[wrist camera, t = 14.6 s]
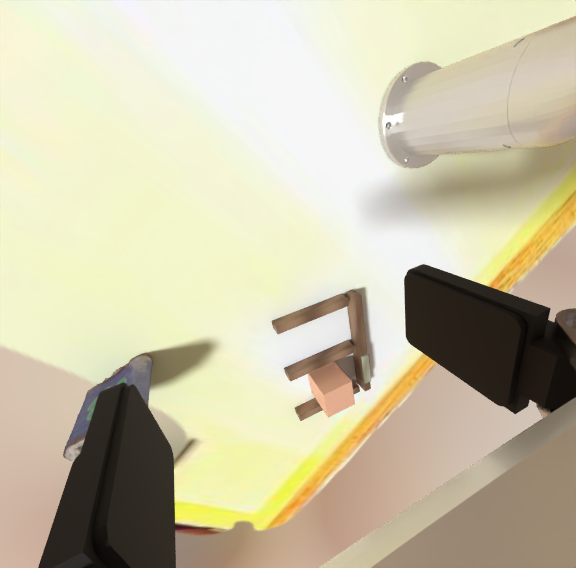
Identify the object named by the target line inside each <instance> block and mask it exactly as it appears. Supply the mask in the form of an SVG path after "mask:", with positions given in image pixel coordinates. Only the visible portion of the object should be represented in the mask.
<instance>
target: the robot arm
mask: <svg viewBox="0 0 576 568" xmlns="http://www.w3.org/2000/svg"><path fill="white" fill-rule="evenodd" d="M379 131H380V137H381V141H382V144H383V147H384V149H385V151H386V153H387V155H388V156H389V157H390V159H391V160H392V161H393V162H395V163H396V164H397V165H399V166H402V167H404V168H419V167H423V166H425V165H427V164H429V163H431V162H432V161H433V160H434V159H436V158H437V157H438V156H439V155H440V154H454V153H468V152H481V151H495V150H509V149H522V148H536V147H547V146H553V145H557V144H561V143H564V142H567V141H569V140H572V139H574V138H576V16H574V17H572V18H569V19H567V20H564V21H561V22H559V23H556V24H554V25H551V26H549V27H547V28H544V29H542V30H539V31H536V32H534V33H531V34H529V35H526V36H523V37H521V38H518V39H516V40H513V41H511V42H508V43H505V44H503V45H500V46H498V47H495V48H493V49H490V50H487V51H485V52H482V53H480V54H477V55H474V56H472V57H469V58H467V59H464V60H462V61H459V62H456V63H454V64H451V65H449V66H446V67H444V68H441V67H440V66H438V65H437V64H435V63H431V62H419V63H416V64H413V65H411V66H409V67H407V68H405V69H404V70H402V71H401V72H400V73H399V74H398V75H397V76H396V77H395V78H394V79H393V80H392V82H391V84H390V85H389V87H388V89H387V91H386V93H385V96H384V98H383V101H382V105H381V109H380V117H379ZM404 286H405V324H406V338H407V340H408V342H409V343H410V344H411V345H412V346H414V347H415V348H417V349H418V350H420V351H421V352H422V353H424V354H425V355H427V356H428V357H430V358H431V359H432V360H434V361H435V362H437V363H438V364H440V365H441V366H443V367H444V368H445V369H447V370H448V371H450V372H451V373H453V374H454V375H455V376H457V377H458V378H460V379H461V380H463V381H464V382H465V383H467V384H468V385H470V386H471V387H473V388H474V389H475V390H477V391H478V392H480V393H481V394H482V395H484V396H485V397H487V398H488V399H490V400H491V401H492V402H494V403H495V404H497V405H499V406H504V407H506V408H507V409H509V410H510V411H511V412H513V413H514V414H516V413H518V412H519V411H521V410H523V409H524V408H526V407H527V406H528V404H529V400H532V401H533V402H535V403H536V405H537V408H538V410H539V412H540V413H541V415H542V417H543V419H542V420H540V421H538V422H537V423H535V424H534V425H532V426H531V427H529V428H528V429H526V430H525V431H523V432H522V433H520V434H518V435H517V436H515V437H514V438H512V439H511V440H509V441H508V442H506V443H505V444H503V445H502V446H500V447H499V448H497V449H496V450H494V451H493V452H491V453H490V454H488V455H487V456H485V457H484V458H482V459H481V460H479V461H478V462H476V463H475V464H473V465H472V466H470V467H469V468H467V469H465V470H464V471H463V472H461V473H459V474H458V475H456V476H455V477H453V478H452V479H450V480H449V481H447V482H446V483H444V484H443V485H441V486H440V487H438V488H437V489H436V490H434V491H432V492H431V493H429V494H428V495H426V496H425V497H423V498H422V499H420V500H419V501H418V502H416V503H414V504H413V505H411V506H410V507H408V508H407V509H405V510H404V511H402V512H401V513H399V514H398V515H396V516H395V517H393V518H392V519H390V520H389V521H387V522H386V523H384V524H383V525H381V526H380V527H378V528H377V529H376V530H374V531H372V532H371V533H370V534H368V535H366V536H365V537H363V538H362V539H360V540H359V541H357V542H356V543H355V544H353V545H351V546H350V547H348V548H347V549H345V550H344V551H343V552H341V553H340V554H338V555H337V556H335V557H334V558H332V559H331V560H329V561H328V562H326V563H325V564H323V565H322V566H320V567H319V568H576V308H573V309H566V310H562V311H560V312H559V313H557V314H556V318H555V322H552V321H549V320H548V317H549V313H550V308H548V307H545V306H542V305H539V304H536V303H533V302H531V301H528V300H525V299H522V298H519V297H517V296H514V295H511V294H508V293H505V292H502V291H499V290H497V289H494V288H491V287H488V286H485V285H482V284H479V283H477V282H474V281H471V280H468V279H465V278H462V277H459V276H457V275H454V274H451V273H448V272H445V271H442V270H440V269H437V268H434V267H431V266H428V265H424V264H423V265H420V266H417V267H415V268H412V269H410V270H409V271H408V272H407V275H406V276H405V279H404ZM38 568H176V555H175V504H174V458H173V452H172V449H171V446H170V444H169V443H168V441H167V439H166V438H165V436H164V434H163V432H162V430H161V429H160V427H159V425H158V424H157V422H156V420H155V419H154V417H153V415H152V413H151V411H150V410H149V408H148V406H147V405H146V403H145V401H144V399H143V398H142V396H141V394H140V393H139V391H138V389H137V388H136V386H135V385H134V384H132V385H129V386H128V385H127V384H126V383H120V384H118V385H115V386H113V387H110V388H107V389H105V390H102V391H101V392H100V393H99V395H98V398H97V402H96V405H95V408H94V411H93V414H92V417H91V421H90V424H89V427H88V430H87V433H86V436H85V440H84V443H83V446H82V449H81V452H80V454H79V455H78V456H77V457H76V458H75V460H74V462H73V464H72V467H71V470H70V473H69V476H68V479H67V482H66V485H65V488H64V491H63V494H62V497H61V500H60V503H59V506H58V509H57V513H56V516H55V519H54V522H53V525H52V528H51V531H50V534H49V537H48V540H47V543H46V546H45V549H44V552H43V555H42V558H41V561H40V564H39V567H38Z"/></svg>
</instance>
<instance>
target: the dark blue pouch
mask: <svg viewBox="0 0 576 568" xmlns="http://www.w3.org/2000/svg"><path fill="white" fill-rule="evenodd" d="M151 369H152V359H151V357H149V356H148V355H146V354H142V355H139V356H136V357H135V358H133V359H131V360H130V362H129V363H128V364H126V365H125V366H123V367H121V368H119V369H118V370H116V371H115V372H114V373H113V375H112V376H111V377H110V378H108V379H106V378H105V380H104V381H103V382H102V383H101V384H97V385H96V386H95V387H93V388H92V389H90V390H88V392H87V394H86V398H85V401H84V403H83V406H82V408H81V410H80V413H79V415H78V417H77V420H76V423H75V426H74V428H73V431H72V433H71V435H70V438H69V440H68V442H67V445H66V447H65V450H64V454H63V456H64V458H66V459H69V460H70V461H74V460H75V458H76V457H77V456H78V455H79V454H80V452H81V449H82V446H83V443H84V440H85V436H86V433H87V430H88V427H89V424H90V421H91V417H92V414H93V411H94V408H95V405H96V402H97V398H98V395H99V393H100V392H101V391H102V390H105V389H107V388H110V387H113V386H115V385H118V384H120V383H126V384H127V385H128V386H129V385H132V384H134V385H135V386H136V388H137V389H138V391H139V393H140V394H141V396H142V398H143V399H144V401H145V403H146V405H147V406H148V400H149V389H150V377H151Z"/></svg>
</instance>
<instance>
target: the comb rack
mask: <svg viewBox="0 0 576 568" xmlns="http://www.w3.org/2000/svg"><path fill="white" fill-rule="evenodd" d="M346 306H347V307H348V315H349V323H350V330H351V338H352V344H351V343H350V342H349V341H348V340H347V341H345V342H342V343H340V344H338V345H336V346H333V347H331V348H329V349H327V350H324V351H322V352H320V353H317V354H315V355H313V356H311V357H308V358H306V359H304V360H302V361H299V362H297V363H295V364H293V365H290V366H288V367H286V368H284V369H285V373H286V375H287V377H288V379H289V380H290V381H292V380H295V379H297V378H299V377H301V376H303V375H306V374H308V373H310V372H312V371H314V370H316V369H319V368H321V367H323V366H325V365H327V364H330V363H332V362H334V361H336V360H338V359H340V358H343V357H345V356H347V355H349V354H351V353H353V354H354V362H355V370H356V377H357V383H358V384H359V385H360V386H361V387H362V388H363V390H364V391H367V390H369V389H371V387H370V381H371V375H370V365H369V355H368V354H367V348H366V338H365V328H364V318H363V309H362V299H361V295H360V294H358V293H356V292H355V291H353V290H350V291H348V292H346V297H345V296H344V295H342V294H340V295H337V296H335V297H332V298H330V299H327V300H325V301H322V302H319V303H317V304H314V305H312V306H309V307H307V308H304V309H301V310H299V311H296V312H294V313H291V314H289V315H286V316H284V317H281V318H278V319H276V320H273V321H272V325H273V328H274V329H275V331H276V332H277V334H280V333H282V332H285V331H287V330H290V329H292V328H295V327H297V326H300V325H302V324H305V323H307V322H309V321H312V320H314V319H317V318H319V317H322V316H324V315H327V314H329V313H332V312H334V311H337V310H339V309H341V308H344V307H346ZM351 381H352V387H353V394H356V393H358V392H360V389H359V386H358V385H357V384H356V382H355V381H354V380H351ZM295 410H296V413H297V415H298V417H299V419H300V421H302V420H304V419H306V418H308V417H310V416H312V415H314V414H316V413H318V412H320V411H322V410H323V409H322V408H321V406H320V404H319V403H318V401H317V400H316V398H314V399H312V400H310V401H308V402H306V403H304V404H302V405H300V406H298V407H296V408H295Z"/></svg>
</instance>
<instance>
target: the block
mask: <svg viewBox="0 0 576 568" xmlns="http://www.w3.org/2000/svg"><path fill="white" fill-rule="evenodd" d="M308 379H309V383H310V387H311V392H312V394H313V395H314V397H315V398H316V400H317V401H318V403H319V404H320V406H321V408H322V409H323V411H324V412H325V414H326V415H327V417H330V416H332V415H334V414H336V413H338V412H340V411H342V410H344V409H346V408H348V407H350V406H352V405H354V404H355V401H354V394H353V387H352V381H351V380H350V379H349V378H348V376H347V375H346V374H345V373H344V372H343V371H342V370H341V369H340V367H339V366H338V365H337V364H336V363H335V362H332V363H330V364H327V365H325V366H323V367H321V368H319V369H316V370H314V371H312V372H310V373H308Z"/></svg>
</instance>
